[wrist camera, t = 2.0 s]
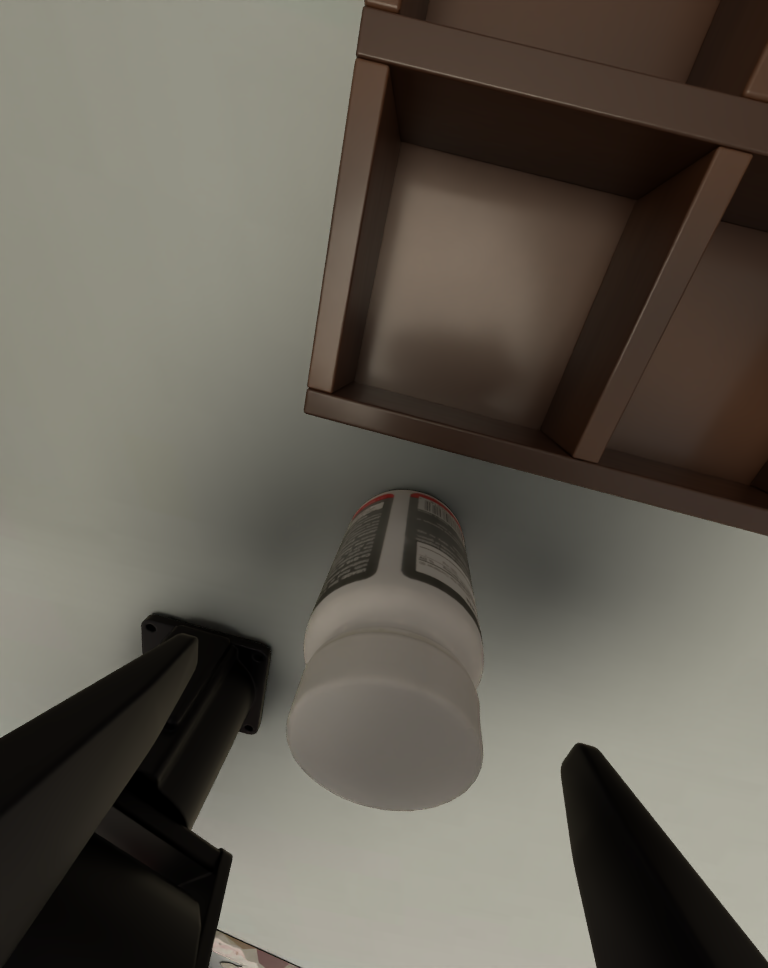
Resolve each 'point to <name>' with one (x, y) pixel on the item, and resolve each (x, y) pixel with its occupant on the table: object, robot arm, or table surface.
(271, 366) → the table surface
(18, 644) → the table surface
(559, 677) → the table surface
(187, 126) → the table surface
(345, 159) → the rack
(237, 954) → the potted flower
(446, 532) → the pill bottle
